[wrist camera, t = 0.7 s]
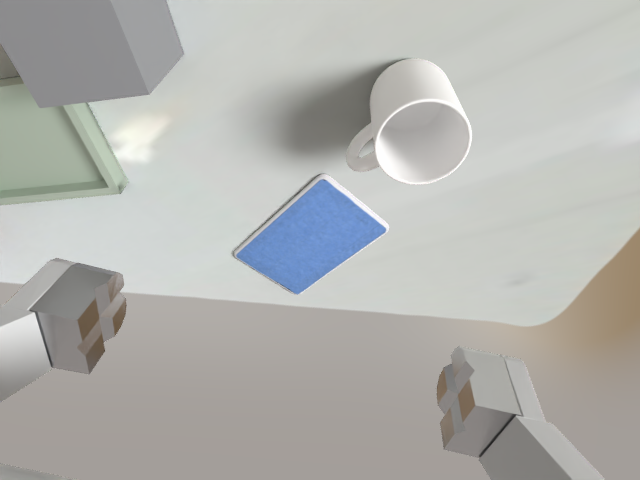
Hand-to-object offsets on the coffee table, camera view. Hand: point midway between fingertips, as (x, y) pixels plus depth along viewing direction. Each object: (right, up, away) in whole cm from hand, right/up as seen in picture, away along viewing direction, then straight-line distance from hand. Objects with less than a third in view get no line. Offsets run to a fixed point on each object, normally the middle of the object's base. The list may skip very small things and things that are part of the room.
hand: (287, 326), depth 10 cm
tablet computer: (-1, +2, +48) cm, 49 cm away
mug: (+9, +16, +35) cm, 39 cm away
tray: (-33, +14, +39) cm, 53 cm away
